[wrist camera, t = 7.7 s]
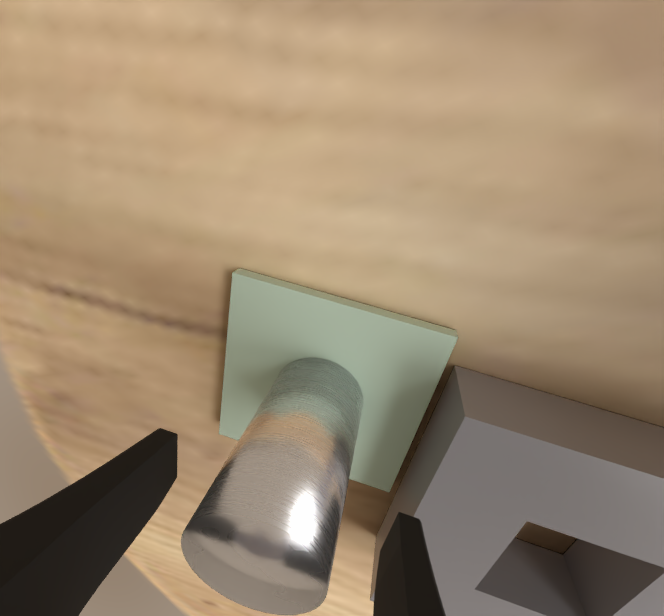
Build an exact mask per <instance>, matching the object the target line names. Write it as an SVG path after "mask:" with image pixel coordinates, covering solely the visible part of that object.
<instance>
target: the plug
mask: <svg viewBox="0 0 664 616" xmlns="http://www.w3.org/2000/svg"><path fill="white" fill-rule="evenodd" d="M362 409H363V394H362V390H361V388H360V385H359V384H358V382H357V380H356V379H355V378H354V376H353V375H352V374H351V373H350V372H349V371H347V370H346V369H345V368H343V367H342V366H340V365H339V364H337V363H335V362H332V361H330V360H327V359H323V358H316V357H308V358H301V359H298V360H295V361H293V362H291V363H289V364H288V365H286V366H285V367H284V368H283V369H282V370H281V372H280V373H279V375H278V377H277V378H276V380H275V382H274V383H273V385H272V386H271V388H270V390H269V391H268V393H267V395H266V396H265V398H264V400H263V401H262V403H261V405H260V406H259V408H258V409H257V411H256V413H255V414H254V416H253V418H252V419H251V421H250V423H249V424H248V426H247V428H246V429H245V431H244V433H243V434H242V436H241V437H240V439H239V441H238V442H237V444H236V446H235V447H234V449H233V451H232V452H231V454H230V456H229V457H228V459H227V461H226V462H225V464H224V465H223V467H222V469H221V470H220V472H219V474H218V475H217V477H216V479H215V480H214V482H213V484H212V485H211V487H210V488H209V490H208V492H207V493H206V495H205V497H204V498H203V500H202V502H201V503H200V505H199V507H198V508H197V510H196V512H195V513H194V515H193V516H192V518H191V520H190V521H189V523H188V525H187V526H186V528H185V530H184V531H183V534H182V538H181V547H182V551H183V554H184V556H185V559H186V561H187V562H188V564H189V566H190V567H191V568H192V570H193V571H194V572H195V573H196V574H197V575H198V576H199V578H201V579H202V580H203V581H204V582H205V583H206V584H207V585H209V586H210V587H211V588H212V589H214V590H215V591H217V592H218V593H220V594H221V595H223V596H225V597H226V598H228V599H230V600H232V601H234V602H236V603H238V604H241V605H243V606H245V607H248V608H251V609H254V610H257V611H261V612H265V613H270V614H277V615H297V614H303V613H306V612H309V611H312V610H314V609H316V608H317V607H318V606H320V605H321V604H322V603H323V601H324V600H325V598H326V595H327V591H328V586H329V581H330V576H331V571H332V565H333V560H334V555H335V550H336V545H337V539H338V534H339V529H340V524H341V518H342V513H343V508H344V503H345V498H346V492H347V487H348V482H349V477H350V472H351V466H352V461H353V456H354V451H355V445H356V440H357V435H358V430H359V425H360V419H361V414H362Z"/></svg>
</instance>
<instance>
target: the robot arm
mask: <svg viewBox="0 0 664 616" xmlns="http://www.w3.org/2000/svg"><path fill="white" fill-rule="evenodd" d="M176 478H177V434H175V433H173V432H170V431H167V430H164V429H161V428H160V429H157V430H156V431H154V432H153V433H151V434H150V435H148V436H147V437H145V438H144V439H142V440H141V441H139V442H138V443H136V444H135V445H133V446H132V447H130V448H129V449H127V450H126V451H124V452H123V453H121V454H119V455H118V456H116V457H115V458H113V459H112V460H110V461H109V462H107V463H105V464H104V465H102V466H101V467H99V468H97V469H96V470H94V471H93V472H91V473H89V474H88V475H86V476H85V477H83V478H81V479H80V480H78V481H77V482H75V483H73V484H72V485H70V486H68V487H66V488H65V489H63V490H61V491H59V492H58V493H56V494H54V495H53V496H51V497H50V498H47V499H46V500H44V501H42V502H41V503H39V504H37V505H35V506H33V507H32V508H30V509H28V510H26V511H24V512H22V513H21V514H19V515H17V516H15V517H13V518H11V519H9V520H7V521H6V522H3V523H2V524H0V616H79V614H80V612H81V611H82V609H83V608H84V606H85V605H86V604H87V602H88V601H89V599H90V598H91V597H92V595H93V594H94V592H95V591H96V589H97V588H98V586H99V585H100V584H101V583H102V581H103V580H104V579H105V578H106V576H107V575H108V574H109V572H110V571H111V570H112V568H113V567H114V566H115V564H116V563H117V562H118V560H119V559H120V558H121V557H122V555H123V554H124V553H125V551H126V550H127V549H128V547H129V546H130V545H131V543H132V542H133V541H134V539H135V538H136V537H137V536H138V534H139V533H140V532H141V530H142V529H143V528H144V526H145V525H146V524H147V522H148V521H149V520H150V518H151V517H152V516H153V514H154V513H155V512H156V510H157V509H158V507H159V506H160V504H161V502H162V501H163V499H164V498H165V496H166V494H167V493H168V491H169V489H170V488H171V486H172V484H173V483H174V481H175V479H176ZM373 616H446V614H445V611H444V608H443V604H442V601H441V598H440V595H439V591H438V587H437V584H436V580H435V577H434V573H433V569H432V565H431V562H430V558H429V554H428V550H427V545H426V541H425V537H424V532H423V527H422V523H421V521H420V519H418V518H416V517H413V516H410V515H407V514H404V513H401V512H398V514H397V517H396V519H395V521H394V523H393V525H392V527H391V529H390V531H389V533H388V535H387V537H386V539H385V541H384V543H383V546H382V548H381V550H380V555H379V562H378V569H377V576H376V584H375V593H374V614H373Z"/></svg>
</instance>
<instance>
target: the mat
mask: <svg viewBox="0 0 664 616" xmlns="http://www.w3.org/2000/svg"><path fill="white" fill-rule="evenodd" d="M457 339H458V335H457V332H456V330H453V329H450V328H446V327H443V326H439V325H436V324H432V323H429V322H425V321H422V320H418V319H415V318H411V317H408V316H404V315H401V314H397V313H394V312H390V311H387V310H384V309H380V308H377V307H373V306H370V305H366V304H363V303H359V302H356V301H352V300H349V299H345V298H342V297H338V296H335V295H331V294H328V293H324V292H321V291H317V290H314V289H310V288H307V287H303V286H300V285H296V284H293V283H290V282H286V281H283V280H279V279H276V278H272V277H269V276H265V275H262V274H258V273H255V272H251V271H248V270H244V269H241V268H239V269H237V270H236V271H234V272H232V284H231V296H230V308H229V319H228V331H227V343H226V355H225V367H224V379H223V391H222V403H221V415H220V427H219V434H221V435H224V436H227V437H230V438H232V439H235V440H238V441H239V439H240V437H241V436H242V434H243V433H244V431H245V429H246V428H247V426H248V424H249V423H250V421H251V419H252V418H253V416H254V414H255V413H256V411H257V409H258V408H259V406H260V405H261V403H262V401H263V400H264V398H265V396H266V395H267V393H268V391H269V390H270V388H271V386H272V385H273V383H274V382H275V380H276V378H277V377H278V375H279V373H280V372H281V370H282V369H283V368H284V367H285V366H286V365H288V364H289V363H291V362H293V361H295V360H298V359H301V358H308V357H316V358H323V359H327V360H330V361H332V362H335V363H337V364H339V365H340V366H342V367H343V368H345V369H346V370H347V371H349V372H350V373H351V374H352V375H353V376H354V378H355V379H356V380H357V382H358V384H359V385H360V388H361V390H362V394H363V409H362V414H361V419H360V425H359V430H358V435H357V440H356V445H355V451H354V456H353V461H352V466H351V472H350V477H349V479H351V480H354V481H357V482H360V483H363V484H366V485H369V486H372V487H375V488H377V489H380V490H383V491H386V492H390V490H391V488H392V485H393V483H394V481H395V479H396V476H397V474H398V472H399V470H400V467H401V465H402V463H403V461H404V458H405V456H406V454H407V452H408V449H409V447H410V445H411V443H412V440H413V438H414V436H415V434H416V431H417V429H418V427H419V425H420V422H421V420H422V418H423V416H424V413H425V411H426V409H427V407H428V404H429V402H430V400H431V398H432V395H433V393H434V391H435V389H436V386H437V384H438V382H439V380H440V377H441V375H442V373H443V371H444V368H445V366H446V364H447V362H448V359H449V357H450V355H451V353H452V350H453V348H454V346H455V344H456V341H457Z"/></svg>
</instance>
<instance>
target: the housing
mask: <svg viewBox="0 0 664 616" xmlns="http://www.w3.org/2000/svg"><path fill="white" fill-rule="evenodd" d="M398 512H401V513H404V514H407V515H410V516H413V517H416V518H418V519H420V521H421V523H422V527H423V532H424V537H425V541H426V545H427V550H428V554H429V558H430V562H431V565H432V569H433V573H434V577H435V580H436V584H437V587H438V591H439V595H440V598H441V601H442V604H443V608H444V611H445V614H446V616H664V428H663V427H660V426H656V425H653V424H650V423H646V422H643V421H639V420H636V419H633V418H629V417H626V416H623V415H619V414H616V413H613V412H609V411H606V410H603V409H599V408H596V407H593V406H589V405H586V404H582V403H579V402H576V401H572V400H569V399H566V398H562V397H559V396H556V395H552V394H549V393H546V392H542V391H539V390H536V389H532V388H529V387H525V386H522V385H519V384H515V383H512V382H509V381H505V380H502V379H499V378H495V377H492V376H489V375H485V374H482V373H479V372H475V371H472V370H468V369H465V368H462V367H458V366H454V368H453V370H452V373H451V375H450V377H449V379H448V381H447V384H446V386H445V388H444V390H443V392H442V394H441V397H440V399H439V401H438V403H437V405H436V407H435V410H434V412H433V414H432V416H431V418H430V421H429V423H428V425H427V427H426V429H425V431H424V434H423V436H422V438H421V440H420V442H419V445H418V447H417V449H416V451H415V453H414V455H413V458H412V460H411V462H410V464H409V466H408V468H407V471H406V473H405V475H404V477H403V479H402V482H401V484H400V486H399V488H398V490H397V492H396V495H395V497H394V499H393V501H392V503H391V506H390V508H389V510H388V512H387V514H386V516H385V519H384V521H383V523H382V525H381V527H380V529H379V532H378V534H377V536H376V542H375V553H374V563H373V573H372V584H371V594H370V600H371V601H374V593H375V584H376V576H377V569H378V562H379V555H380V550H381V548H382V546H383V543H384V541H385V539H386V537H387V535H388V533H389V531H390V529H391V527H392V525H393V523H394V521H395V519H396V517H397V514H398ZM526 522H530V523H533V524H536V525H539V526H542V527H545V528H548V529H551V530H554V531H557V532H560V533H563V534H566V535H569V536H572V537H575V538H578V539H577V540H576V541H575V542H574V543H573V544H572V546H571V547H570V548H569V549H568V550H567V551H566V552H565V553H564V554H563V555H562V554H559V553H556V552H553V551H550V550H548V549H545V548H542V547H539V546H536V545H533V544H530V543H527V542H524V541H522V540H519V539H516V538H514V537H515V536H516V535H517V534H518V532H519V531H520V530H521V528H522V527H523V526H524V525H525V523H526Z"/></svg>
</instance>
